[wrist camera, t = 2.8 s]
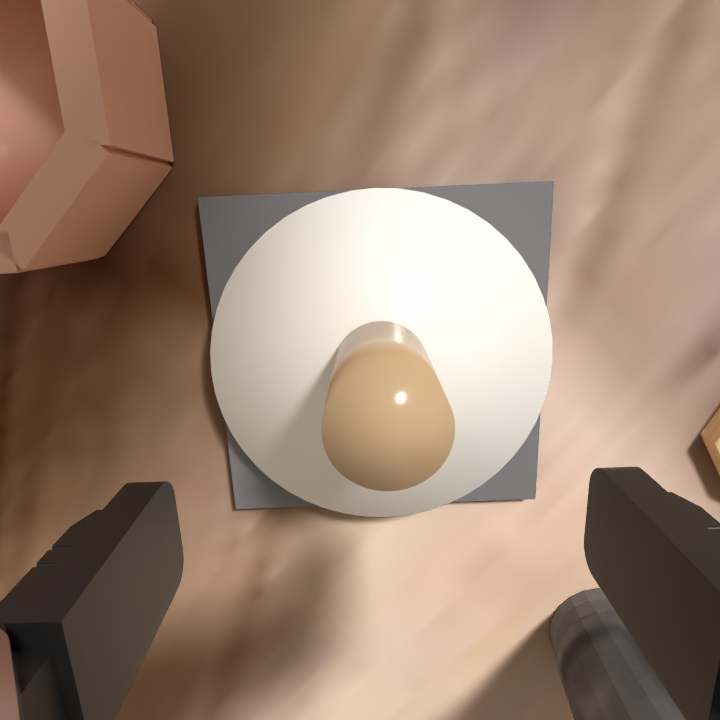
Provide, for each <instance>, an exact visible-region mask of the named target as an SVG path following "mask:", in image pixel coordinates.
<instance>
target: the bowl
mask: <svg viewBox="0 0 720 720" xmlns="http://www.w3.org/2000/svg"><path fill="white" fill-rule="evenodd" d="M152 21H153V20H152V19H151V18H150V17H149V16H148V15H147V14H146V13H145V12H144V11H142V10H141V9H140V8H139V7H138V6H137V5H136V4H135V3H134V2H133V1H132V0H0V274H5V273H20V272H26V271H32V270H37V269H43V268H49V267H55V266H60V265H66V264H72V263H77V262H83V261H89V260H95V259H100V257H103V256H105V255H106V254H107V253H108V251H109V250H110V249H111V247H112V246H113V245H114V243H115V242H116V241H117V240H118V238H119V237H120V236H121V234H122V233H123V232H124V230H125V229H126V228H127V227H128V225H129V224H130V223H131V221H132V220H133V219H134V217H135V216H136V215H137V213H138V212H139V211H140V210H141V208H142V207H143V206H144V204H145V203H146V202H147V200H148V199H149V198H150V197H151V195H152V194H153V193H154V191H155V190H156V189H157V187H158V186H159V185H160V184H161V182H162V181H163V180H164V178H165V177H166V176H167V174H168V173H169V172H170V171H171V169H172V167H171V166H170V165H169V164H168V163H167V162H174V158H173V150H172V143H171V135H170V128H169V120H168V113H167V105H166V97H165V90H164V82H163V75H162V67H161V60H160V52H159V45H158V37H157V29H156V26H154V25H153V24H152V23H151V22H152Z"/></svg>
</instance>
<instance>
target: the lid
mask: <svg viewBox="0 0 720 720" xmlns="http://www.w3.org/2000/svg"><path fill="white" fill-rule="evenodd" d="M210 357H211V374H212V379H213V384H214V389H215V395H216V397H217V400H218V403H219V406H220V409H221V412H222V415H223V417H224V419H225V421H226V423H227V425H228V427H229V429H230V431H231V433H232V435H233V436H234V438H235V439H236V441H237V442H238V444H239V445H240V447H241V448H242V450H243V451H244V452H245V453H246V455H247V456H248V457H249V458H250V459H251V460H252V462H253V463H254V464H255V465H256V466H257V467H258V468H259V469H260V470H261V471H262V472H264V473H265V474H266V475H267V476H268V477H269V478H270V479H271V480H273V481H274V482H276V483H277V484H278V485H280V486H281V487H283V488H284V489H286V490H287V491H288V492H290V493H292V494H294V495H296V496H298V497H300V498H301V499H303V500H305V501H307V502H310V503H313V504H315V505H318V506H320V507H323V508H325V509H329V510H333V511H337V512H341V513H344V514H351V515H358V516H365V517H391V516H403V515H409V514H414V513H419V512H424V511H428V510H431V509H434V508H437V507H440V506H443V505H446V504H448V503H450V502H452V501H454V500H457V499H459V498H461V497H463V496H465V495H466V494H468V493H470V492H471V491H473V490H475V489H476V488H478V487H479V486H481V485H482V484H484V483H485V482H486V481H488V480H489V479H490V478H491V477H493V476H494V475H495V474H496V473H498V472H499V471H500V470H501V469H502V468H503V467H504V466H505V465H506V463H507V462H508V461H509V460H510V459H511V458H512V457H513V456H514V455H515V453H516V452H517V451H518V450H519V448H520V447H521V446H522V444H523V443H524V442H525V440H526V439H527V437H528V435H529V433H530V432H531V430H532V428H533V427H534V425H535V423H536V421H537V419H538V416H539V414H540V411H541V409H542V407H543V404H544V401H545V398H546V394H547V390H548V387H549V383H550V376H551V369H552V333H551V326H550V319H549V315H548V311H547V308H546V305H545V301H544V298H543V295H542V293H541V291H540V288H539V286H538V284H537V282H536V279H535V277H534V275H533V274H532V272H531V270H530V269H529V267H528V266H527V264H526V263H525V261H524V259H523V258H522V256H521V255H520V254H519V253H518V252H517V250H516V249H515V248H514V247H513V246H512V245H511V243H510V242H509V241H508V240H507V239H506V238H505V237H504V236H503V235H502V234H501V233H499V232H498V231H497V230H496V229H495V228H494V227H493V226H492V225H490V224H489V223H488V222H486V221H485V220H483V219H482V218H480V217H479V216H477V215H476V214H474V213H473V212H471V211H470V210H468V209H466V208H464V207H461V206H459V205H457V204H455V203H453V202H451V201H449V200H446V199H443V198H440V197H437V196H434V195H430V194H427V193H424V192H418V191H412V190H406V189H398V188H370V189H361V190H352V191H348V192H344V193H340V194H336V195H332V196H328V197H325V198H323V199H320V200H318V201H316V202H313V203H311V204H308V205H306V206H304V207H302V208H300V209H299V210H297V211H295V212H293V213H292V214H290V215H288V216H286V217H285V218H283V219H282V220H281V221H279V222H278V223H277V224H276V225H274V226H273V227H272V228H270V229H269V230H268V231H267V232H265V233H264V234H263V235H262V236H261V237H260V238H259V240H258V241H257V242H256V243H255V244H254V245H253V246H252V247H251V248H250V249H249V250H248V251H247V253H246V254H245V255H244V257H243V258H242V259H241V261H240V262H239V264H238V265H237V266H236V268H235V269H234V271H233V273H232V275H231V277H230V279H229V281H228V282H227V284H226V286H225V288H224V291H223V293H222V296H221V299H220V301H219V304H218V307H217V310H216V314H215V319H214V324H213V328H212V336H211V349H210Z"/></svg>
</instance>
